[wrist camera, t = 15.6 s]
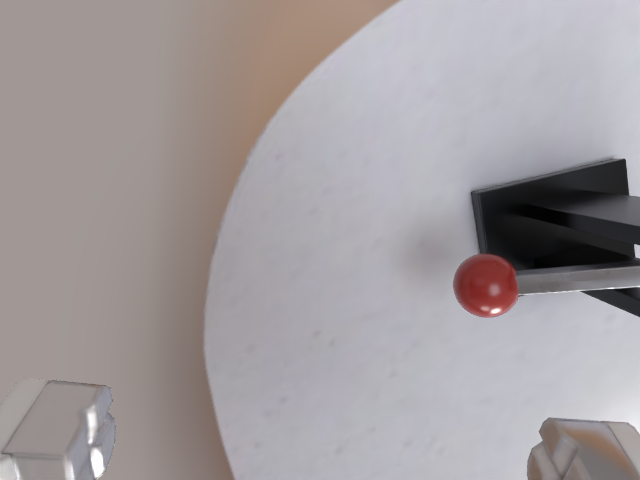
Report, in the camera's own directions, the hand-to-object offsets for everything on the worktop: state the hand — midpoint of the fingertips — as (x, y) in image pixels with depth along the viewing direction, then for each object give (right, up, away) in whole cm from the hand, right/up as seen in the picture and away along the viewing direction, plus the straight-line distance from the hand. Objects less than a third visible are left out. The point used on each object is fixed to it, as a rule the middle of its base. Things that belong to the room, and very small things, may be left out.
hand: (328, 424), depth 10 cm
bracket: (+17, +4, +28) cm, 33 cm away
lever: (+14, +2, +19) cm, 24 cm away
